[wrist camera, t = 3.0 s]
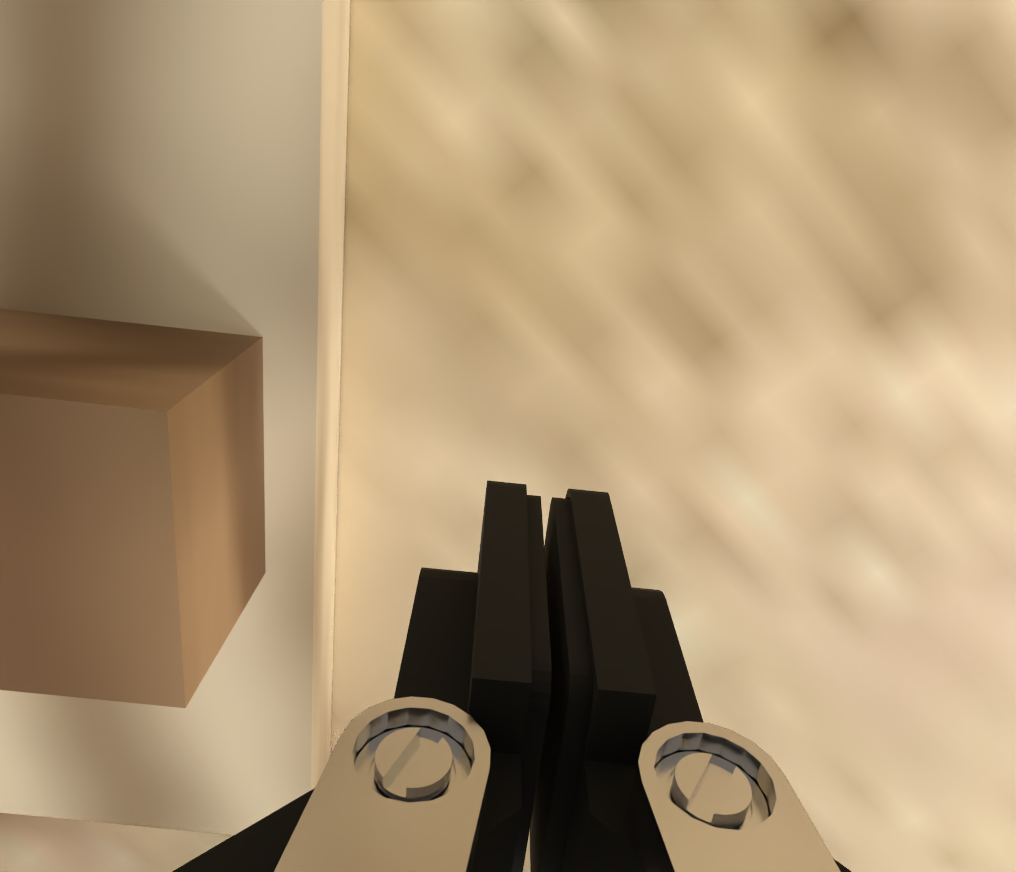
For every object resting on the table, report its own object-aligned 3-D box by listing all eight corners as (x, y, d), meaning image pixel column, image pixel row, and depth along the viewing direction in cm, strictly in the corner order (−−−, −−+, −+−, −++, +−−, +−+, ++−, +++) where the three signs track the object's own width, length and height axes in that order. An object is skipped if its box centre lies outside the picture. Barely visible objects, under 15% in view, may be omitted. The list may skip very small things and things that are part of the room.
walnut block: (262, 337, 14) (167, 411, 10) (265, 572, 16) (185, 708, 12) (-14, 307, 14) (-213, 370, 10) (21, 547, 16) (-135, 676, 12)
